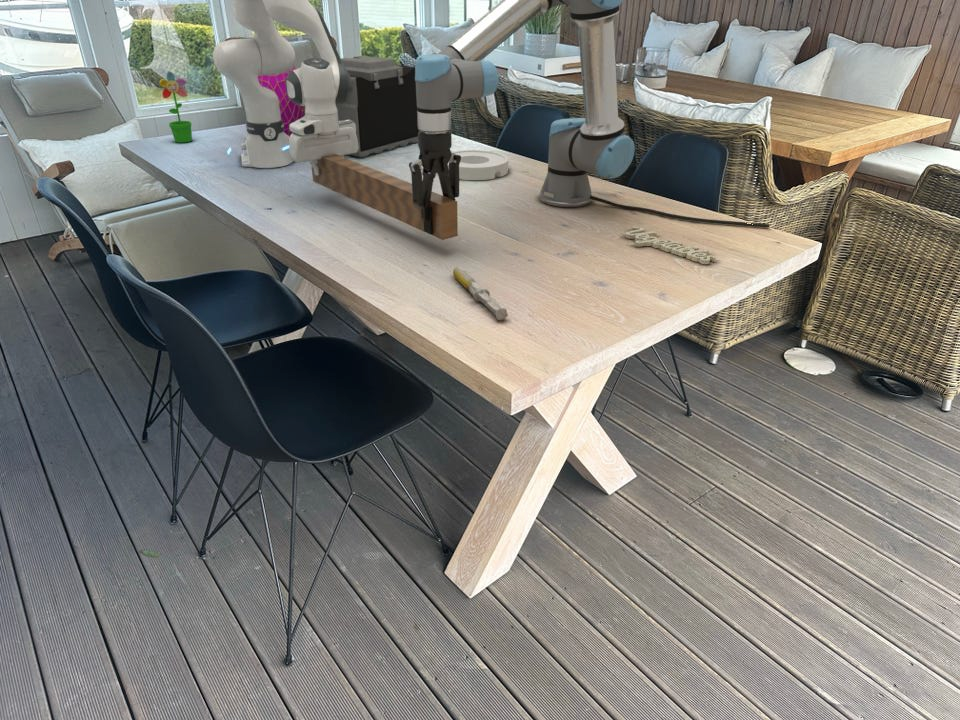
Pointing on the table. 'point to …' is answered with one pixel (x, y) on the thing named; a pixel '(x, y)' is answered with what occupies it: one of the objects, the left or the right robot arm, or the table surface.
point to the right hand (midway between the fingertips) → (437, 229)
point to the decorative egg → (283, 99)
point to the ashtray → (481, 164)
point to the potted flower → (178, 128)
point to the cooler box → (380, 104)
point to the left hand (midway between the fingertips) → (327, 173)
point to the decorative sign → (669, 245)
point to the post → (385, 194)
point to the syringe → (479, 293)
